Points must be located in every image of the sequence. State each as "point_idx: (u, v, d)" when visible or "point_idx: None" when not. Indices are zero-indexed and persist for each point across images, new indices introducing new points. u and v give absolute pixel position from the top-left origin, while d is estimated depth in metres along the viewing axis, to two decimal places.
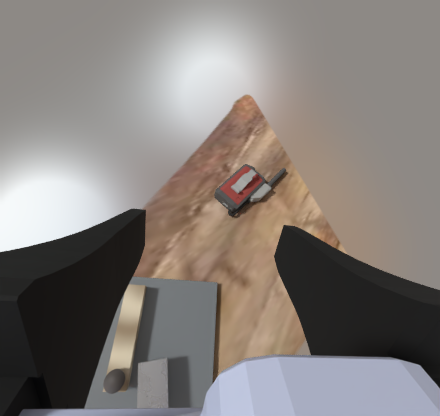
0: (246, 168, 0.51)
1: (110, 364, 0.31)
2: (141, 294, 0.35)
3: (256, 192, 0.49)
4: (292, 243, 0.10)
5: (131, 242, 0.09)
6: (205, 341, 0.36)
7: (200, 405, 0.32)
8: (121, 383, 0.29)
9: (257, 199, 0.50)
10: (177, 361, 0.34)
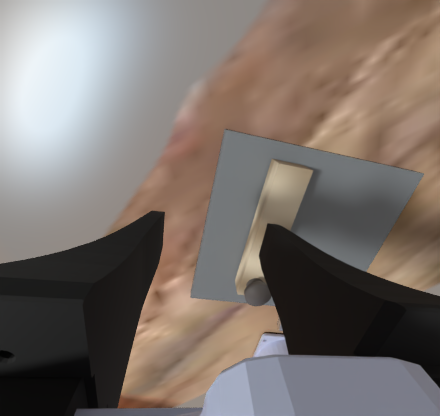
0: None
1: (247, 271, 0.21)
2: (303, 186, 0.18)
3: None
4: (274, 241, 0.10)
5: (154, 244, 0.09)
6: (365, 251, 0.24)
7: None
8: (267, 298, 0.21)
9: None
10: None
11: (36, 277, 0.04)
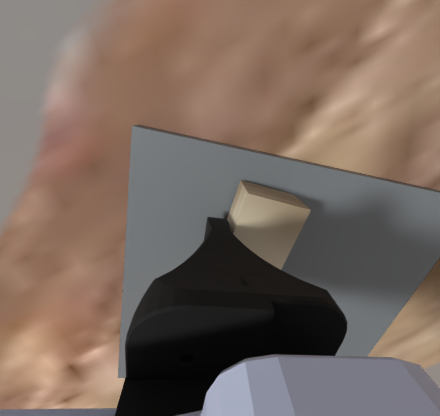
0: None
1: None
2: (291, 235, 0.10)
3: None
4: (207, 235, 0.10)
5: None
6: (379, 313, 0.16)
7: None
8: None
9: None
10: None
11: (214, 288, 0.04)
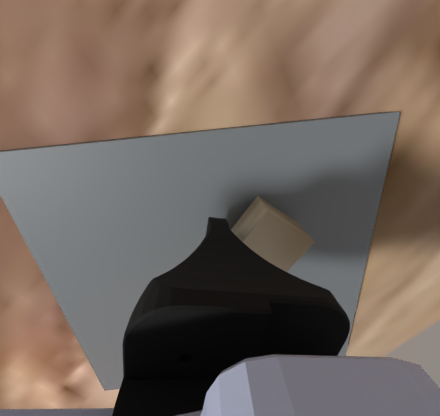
0: None
1: None
2: (290, 259, 0.11)
3: None
4: None
5: None
6: (342, 270, 0.14)
7: None
8: None
9: None
10: None
11: (211, 288, 0.04)
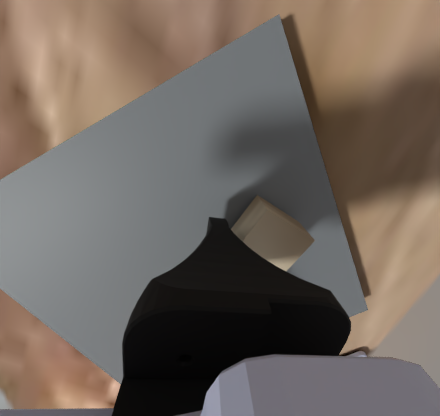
0: None
1: None
2: (290, 258, 0.11)
3: None
4: None
5: None
6: (311, 216, 0.12)
7: None
8: None
9: None
10: None
11: (211, 288, 0.04)
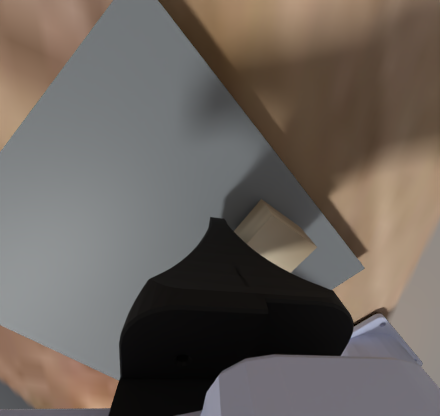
0: None
1: None
2: (292, 263, 0.11)
3: None
4: None
5: None
6: (260, 182, 0.11)
7: (333, 271, 0.14)
8: None
9: None
10: None
11: (208, 288, 0.04)
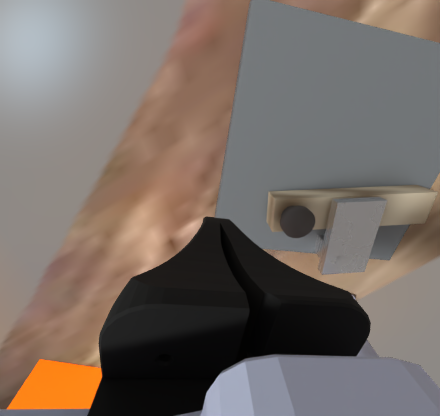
0: None
1: (312, 200, 0.18)
2: (411, 221, 0.19)
3: None
4: None
5: None
6: (422, 175, 0.20)
7: (381, 249, 0.23)
8: (294, 235, 0.17)
9: None
10: None
11: (191, 287, 0.04)
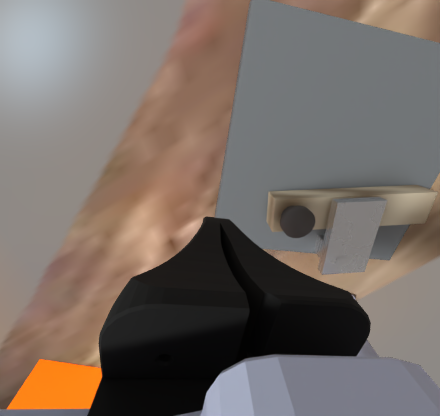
0: None
1: (312, 200, 0.18)
2: (411, 221, 0.19)
3: None
4: None
5: None
6: (422, 175, 0.20)
7: (381, 249, 0.23)
8: (294, 235, 0.17)
9: None
10: None
11: (191, 287, 0.04)
